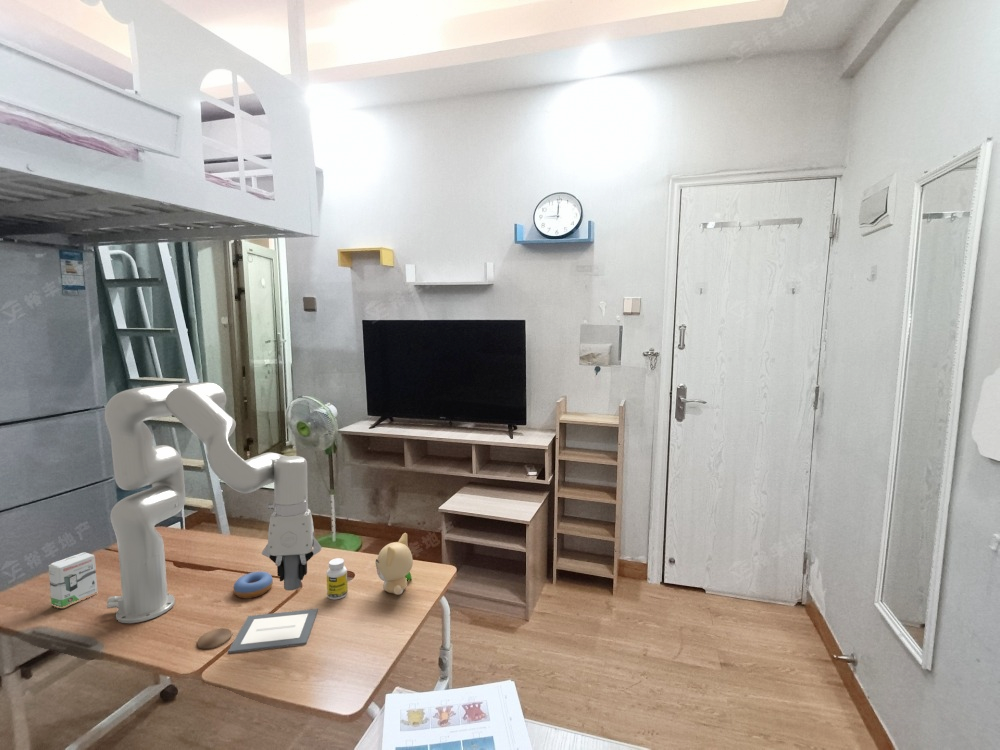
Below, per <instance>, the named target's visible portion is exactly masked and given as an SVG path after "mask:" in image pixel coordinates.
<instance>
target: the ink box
mask: <svg viewBox="0 0 1000 750" xmlns="http://www.w3.org/2000/svg"><path fill="white" fill-rule="evenodd" d="M95 557H96V556H95V555H94V554H91V553H89V552H86V551H85V552H80V553H78V554H74V555H71V556H68V557H66V558H63V559H61V560H57V561H54V562H52V563H50V564H49V565H48V577H49V589H50V590H49V591H50V603H51V604H53V605H56V606H59V607H63V606H66V605H68V604H70V603H72V602H74V601H77V600H79V599H81V598H84V597H86V596H89V595H91V594H94V593H95V592H97V593H98V584H97V583H98V581H97V570H96V567H97V566H96V558H95Z"/></svg>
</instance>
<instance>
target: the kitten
mask: <svg viewBox="0 0 1000 750" xmlns="http://www.w3.org/2000/svg"><path fill="white" fill-rule="evenodd" d="M408 539H409V538H408V533H406V532H404V533H402V535H401V537H400V538H399V539H398V541H395V542H390V543H388V544H386V545H385V546H384V547H382V549H381V550H380V551H379V552H378V555H377V558H376V559H375V567H376V574H377V577H378V578H379V579H380V580H382V581H383V585H382V589H383V591H385V592H387V593H389V594H394V595H396V596H399V595H401V594H403V592H404V590H405V589H406V588H407V586H408V581H407V580H409V581H411V580H412V578H413V577H412V575H411V570H412V568H413V565H414V564H413V563H414V560H413V554H412V551H411V550H410V548H409V545H408V544H409V543H408ZM406 578H407V579H406ZM410 579H411V580H410Z"/></svg>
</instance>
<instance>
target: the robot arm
mask: <svg viewBox="0 0 1000 750" xmlns="http://www.w3.org/2000/svg"><path fill="white" fill-rule="evenodd" d="M227 401H228V399H227V394H226V392H225V391H224V389H223V388H222V387H221V386H220V385H218V383H217V384H216V383H215V382H210V381H205V382H180V383H166V384H165V383H164V384H158V385H148V386H140V387H134V388H129V389H125V390H122V391H119V392H118V393H116V394H114V395H113V396H112V397H110V399H109V400H108V401H107V403H106V406H105V409H104V419H105V424H106V427H107V430H108V433H109V437H110V443H111V457H112V466H113V467H112V468H113V474H114V480H115V484H116V485H117V487H119V488H120V489H121V490H123V491H135V490H139V489H142V488H144V487H148V486H151V487H150V488H146V489H144V490H141V491H139V492H135V493H133V494H131V495H130V494H129V495H128V496H126V497H124V498H122V499H121V500H119V501H118V502H116V503H115V504H114V506H113V507H112V508H111V511H110V517H109V518H110V522H111V526H112V529H113V531H114V534H115V538H116V543H117V544H116V545H117V552H118V562H119V572H120V583H121V585H120V586H121V595H119V596H118V595H114V596H109V597H108V598H107V600H106V609H115V608H117V611H116V612H115V619H116V621H117V620H118V621H117V622H119V623H122V624H136V623H141V622H145V621H146V622H147V621H149V620H152V619H155V618H157V617H159V616H161V615H164V614H165V613H167V612H168V611H169V610H171V608H172V607H173V606H174V605H175V602H176V601H175V600H176V599H175V598H176V597H175V595H173V594H171V593H168V584H167V570H166V555H165V545H164V544H165V543H164V539H163V536H162V535H161V534H160V532H158V530H157V529H156V527H155V526H156V525H157V524H160V523H161V522H163V521H165V520H167V519H170V518H172V517H174V516H175V515H177V514H179V513H180V512H181V511H182V510H183V509H184V507H185V503H186V486H185V475H184V474H185V473H184V465H183V463H184V462H183V459H182V457H181V455H180V453H179V452H178V450H177V449H176V448H174V447H173V446H170V445H166V444H162V445H156V446H154V441H153V440H154V438H153V434H152V431H151V430H150V428H149V427H148V425H147V424H146V423H145V421H149V420H155V419H160V418H166V417H171V416H173V417H174V418H176V420H178V421H179V422H180V423H181V424H182V425H183V426H185V427H186V429H187V430H189V431H190V432H191V433H193V435H194V436H196V437H197V438H198V439H199V440H200V441H201V442H202V443H203V444H204V445H205V453H206V458H207V462H208V464H209V466H210V468H211V470H212V472H213V473H214V474H215V475H216V476H217V477H218V478H219V479H220V480H221V481H222V482H223V483H225V484H226V485H227V486H229V488H231V489H232V490H234V491H236V492H239V493H240V494H249V493H253V492H255V491H258V490H259V489H261V488H263V487H266V486H268V485H271V484H273V485H274V487H273V489H274V493H273V494H274V498H273V499H274V501H273V502H271V503H268V504H267V508H268V509H270V510H273V513H271V515H270V517H269V526H268V533H267V534H268V535H267V536H268V537H267V544H266V545H265V547H264V548H263V550H262V552H261V555H262V556H265V557H266V558H269V559H270V561H272V562H273V563H275V566H276V567H277V570H276V571H277V572H276V573H277V577H278V578H279V582H284V564H283V556H286V555H300V559H301V562H300V565H299V580H301V581H303V579H304V577H305V576H306V575H307V573H308V561H310V560H311V559H312V558H313V557H314V556H315V555H317V554H318V553H320V552H321V551H322V548H323V547H322V546H321V544H320V543H319V541H318V540H317V538H316V537H315V529H314V521H313V516H312V511H311V509H310V508H309V503H308V501H309V497H308V494H309V493H308V490H309V489H308V461H307V459H306V458H305V457H303V456H299V455H288V456H287V455H285V454H284V455H283V454H280V453H277V452H272V451H271V452H270V451H269V452H264V453H262V454H259V455H256V456H253V457H250V458H248V459H246V460H245V459H243V458H242V457H241V456H240V455H239V453H237V452H236V451H235V450H234V449H233V448H232V446H231V445H230V441H229V438H230V437H231V436H232V434H233V432H234V431H235V429H236V425H237V422H236V420H235V419H234V418H233V417H232V416H231V415H230V414H228V412H227V411H225V410H224V408H225V406H226V404H227Z"/></svg>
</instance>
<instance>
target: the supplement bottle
mask: <svg viewBox="0 0 1000 750" xmlns="http://www.w3.org/2000/svg"><path fill="white" fill-rule="evenodd" d="M328 567H329V568H328V569H327V570H326V595H327V598H328V599H329V600H339V599H343V598H344V597H346V596H347V595H348V588H349V587H348V569H347V567H346V566H345V559H343V558H342V557H341V558H339V557H336V558H333V559H331V560H330V561H329V562H328Z"/></svg>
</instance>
